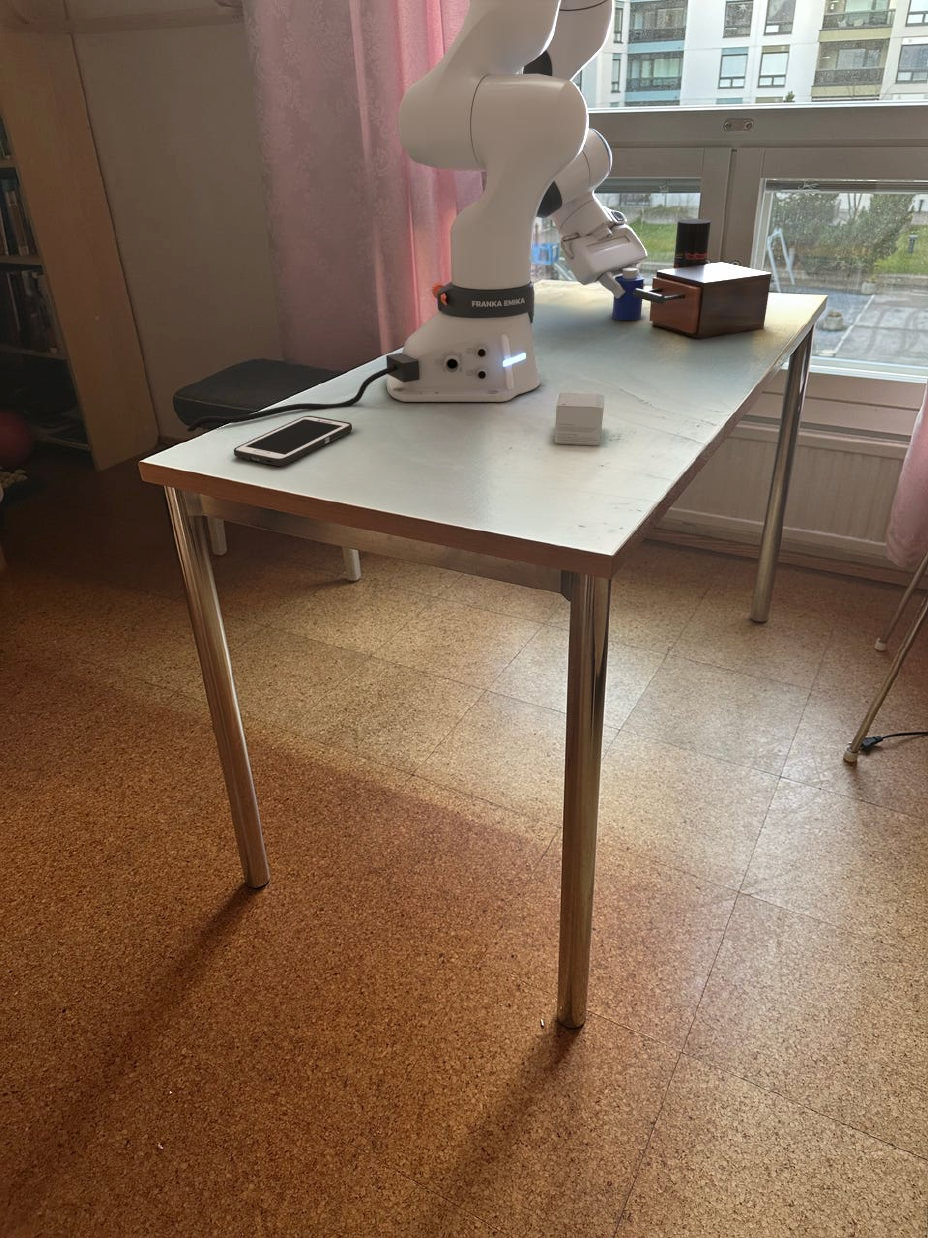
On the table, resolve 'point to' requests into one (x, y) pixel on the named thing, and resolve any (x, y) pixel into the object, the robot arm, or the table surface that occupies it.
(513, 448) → the table surface
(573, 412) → the small box
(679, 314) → the wooden drawer
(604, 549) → the table surface
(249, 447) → the cell phone
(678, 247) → the deodorant
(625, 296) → the detergent bottle
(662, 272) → the drawer box
